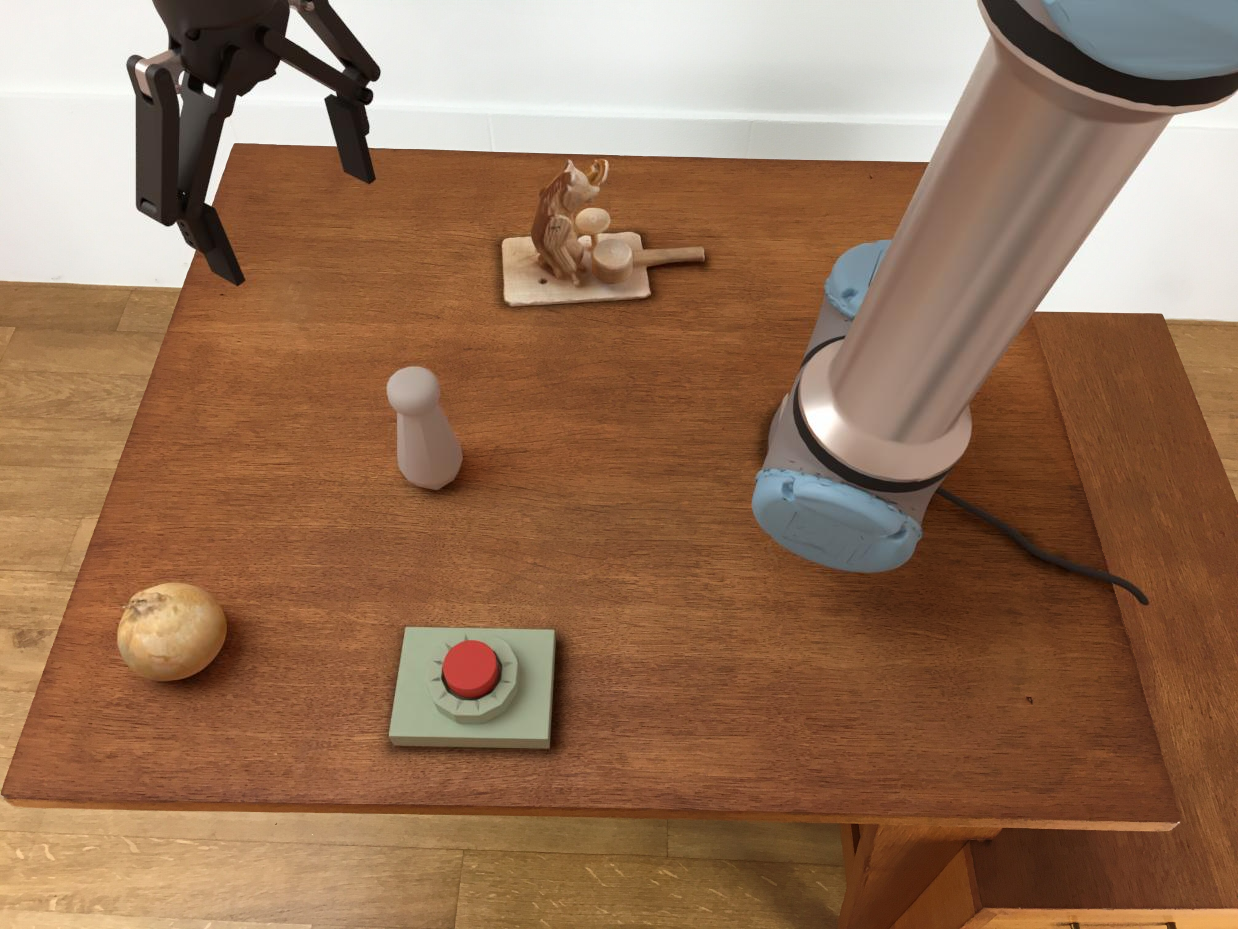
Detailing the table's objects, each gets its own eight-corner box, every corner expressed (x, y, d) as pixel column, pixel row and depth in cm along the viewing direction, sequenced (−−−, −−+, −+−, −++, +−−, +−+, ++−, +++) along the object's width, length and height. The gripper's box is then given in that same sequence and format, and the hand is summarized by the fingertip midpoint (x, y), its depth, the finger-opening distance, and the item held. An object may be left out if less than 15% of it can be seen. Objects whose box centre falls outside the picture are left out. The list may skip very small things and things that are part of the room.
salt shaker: (454, 503, 87) (433, 414, 76) (393, 492, 87) (364, 402, 77) (473, 452, 90) (455, 360, 80) (414, 442, 91) (389, 349, 80)
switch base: (555, 640, 79) (553, 619, 76) (549, 749, 74) (547, 730, 71) (410, 638, 79) (401, 616, 76) (393, 746, 74) (383, 727, 71)
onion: (239, 597, 81) (210, 555, 75) (232, 686, 77) (202, 648, 71) (140, 610, 80) (104, 569, 75) (128, 700, 76) (88, 664, 70)
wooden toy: (501, 307, 101) (488, 203, 90) (501, 239, 107) (489, 134, 96) (710, 298, 102) (723, 194, 91) (698, 232, 108) (709, 127, 97)
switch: (500, 649, 75) (498, 640, 73) (496, 699, 73) (493, 690, 71) (449, 648, 75) (446, 639, 73) (443, 698, 73) (439, 689, 71)
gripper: (307, -163, 62) (373, 122, 80) (-36, 10, 50) (130, 301, 68) (395, -132, 60) (443, 155, 77) (56, 57, 48) (203, 346, 65)
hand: (297, 224), depth 72 cm, fingers open, 13 cm apart
